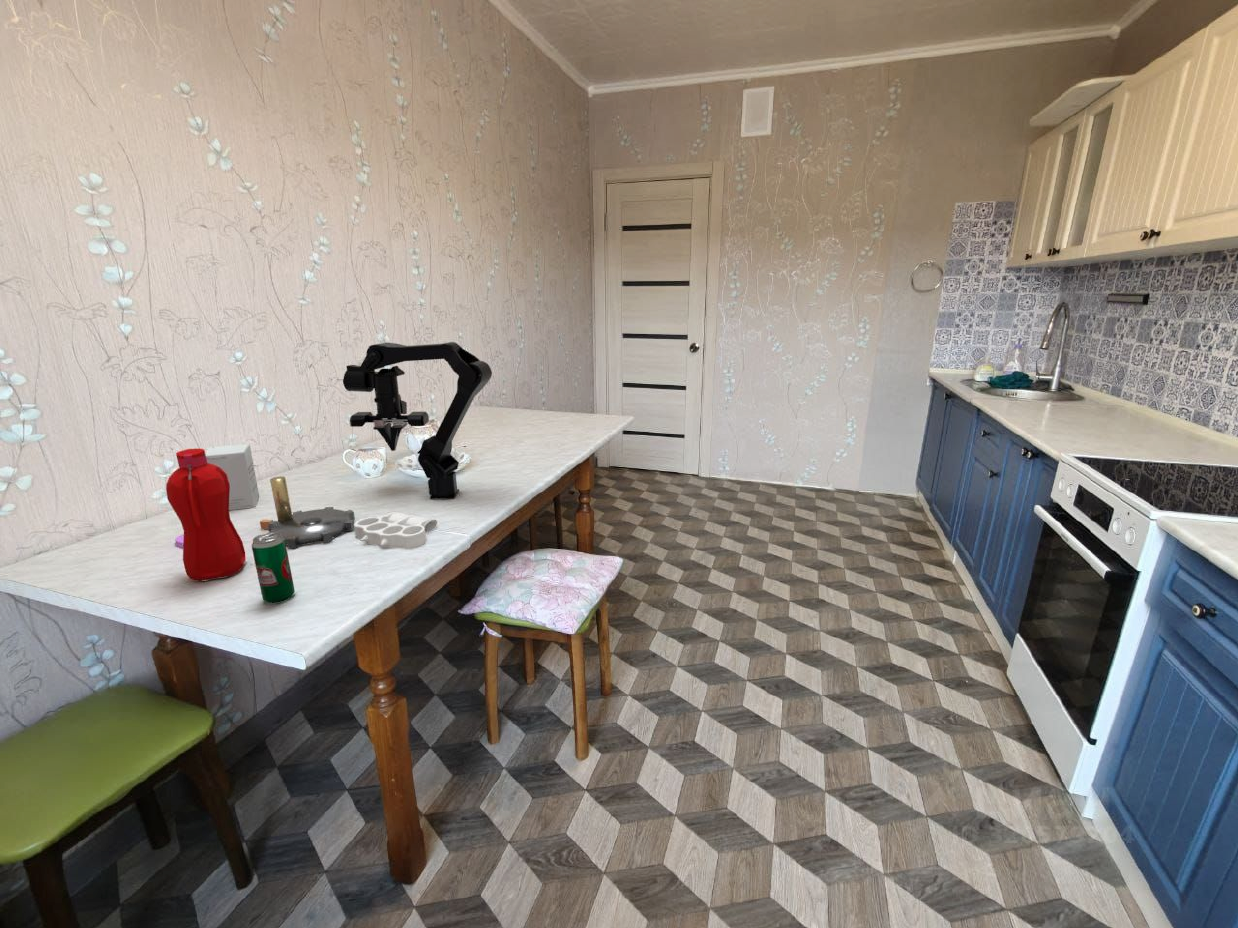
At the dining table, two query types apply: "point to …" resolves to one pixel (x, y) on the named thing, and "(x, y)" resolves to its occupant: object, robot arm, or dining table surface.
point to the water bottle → (204, 517)
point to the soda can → (273, 567)
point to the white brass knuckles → (394, 530)
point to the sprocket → (306, 520)
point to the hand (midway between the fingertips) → (393, 450)
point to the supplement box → (237, 473)
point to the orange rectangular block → (265, 524)
